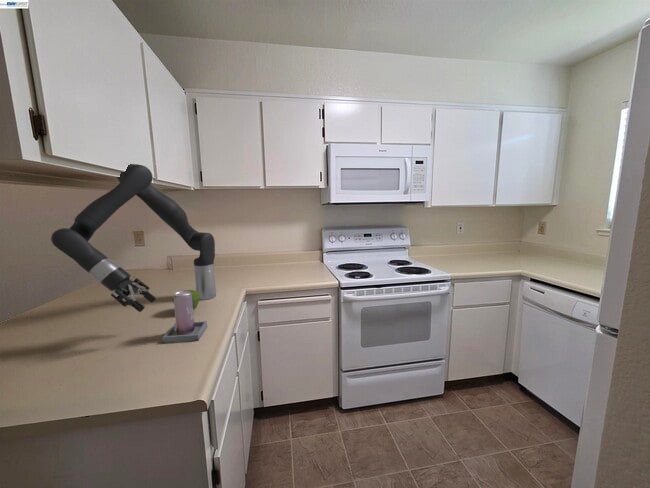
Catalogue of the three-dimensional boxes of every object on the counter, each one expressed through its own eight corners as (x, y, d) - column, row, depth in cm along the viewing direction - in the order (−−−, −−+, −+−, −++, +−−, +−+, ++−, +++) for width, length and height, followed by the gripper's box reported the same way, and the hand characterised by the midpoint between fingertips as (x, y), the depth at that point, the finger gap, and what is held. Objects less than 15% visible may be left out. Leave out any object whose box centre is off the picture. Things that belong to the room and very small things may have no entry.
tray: (175, 328, 108) (175, 323, 107) (207, 326, 109) (206, 321, 109) (162, 343, 96) (162, 337, 96) (198, 340, 98) (197, 334, 98)
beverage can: (185, 327, 107) (182, 290, 104) (198, 329, 105) (195, 291, 103) (172, 335, 101) (169, 295, 99) (186, 337, 99) (183, 296, 97)
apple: (173, 318, 117) (171, 295, 116) (174, 309, 127) (172, 288, 125) (201, 313, 122) (199, 291, 121) (200, 305, 131) (198, 285, 130)
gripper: (105, 272, 89) (146, 305, 93) (129, 262, 103) (164, 291, 107) (88, 288, 89) (130, 321, 93) (114, 276, 103) (150, 304, 107)
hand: (148, 305), depth 100 cm, fingers open, 8 cm apart
